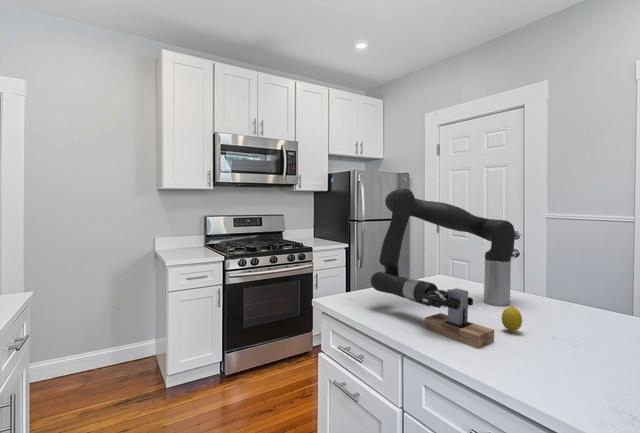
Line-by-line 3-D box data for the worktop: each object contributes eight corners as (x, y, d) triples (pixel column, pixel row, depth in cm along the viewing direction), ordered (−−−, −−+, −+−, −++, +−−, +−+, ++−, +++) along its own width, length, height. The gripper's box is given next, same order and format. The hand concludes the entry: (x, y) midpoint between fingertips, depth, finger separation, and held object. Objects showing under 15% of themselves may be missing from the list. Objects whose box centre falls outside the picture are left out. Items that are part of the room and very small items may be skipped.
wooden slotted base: (440, 323, 113) (440, 312, 113) (493, 341, 98) (494, 329, 98) (424, 328, 108) (424, 317, 108) (478, 348, 94) (478, 335, 94)
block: (455, 326, 106) (456, 288, 106) (467, 330, 103) (468, 291, 102) (447, 329, 104) (448, 290, 103) (459, 333, 101) (460, 293, 100)
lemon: (524, 336, 103) (525, 309, 102) (504, 334, 104) (505, 308, 103) (517, 329, 108) (518, 304, 108) (498, 328, 109) (499, 303, 109)
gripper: (405, 283, 110) (451, 295, 97) (433, 278, 119) (479, 288, 105) (405, 306, 111) (450, 321, 97) (433, 299, 119) (478, 312, 105)
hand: (465, 304), depth 101 cm, fingers open, 6 cm apart
